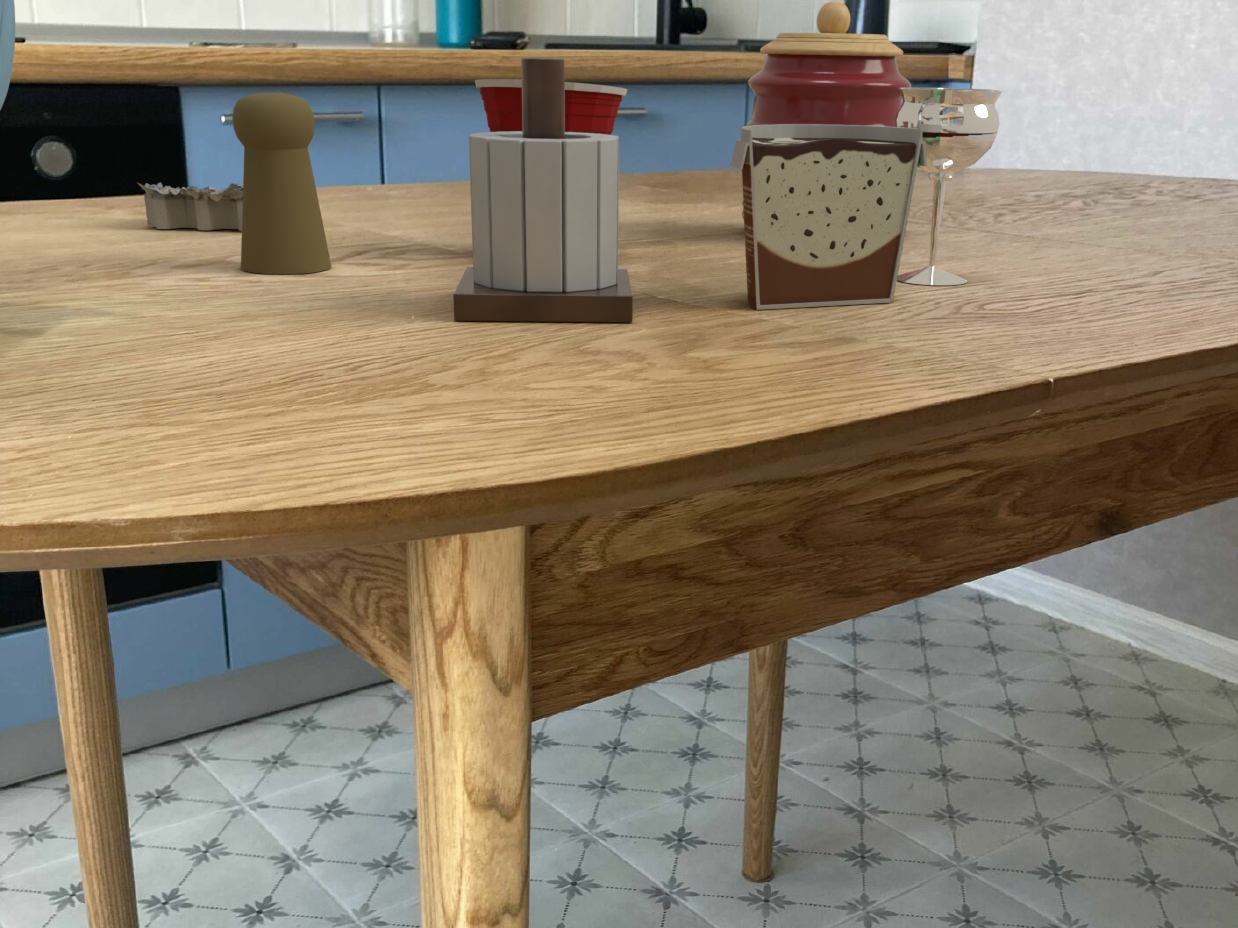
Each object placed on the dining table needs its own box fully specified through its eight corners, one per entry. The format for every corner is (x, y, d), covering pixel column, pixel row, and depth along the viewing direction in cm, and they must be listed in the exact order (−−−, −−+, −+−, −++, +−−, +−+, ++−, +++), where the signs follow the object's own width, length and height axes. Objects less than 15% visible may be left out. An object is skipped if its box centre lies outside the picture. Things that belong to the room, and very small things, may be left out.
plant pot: (469, 292, 76) (464, 139, 73) (479, 269, 83) (475, 130, 80) (619, 293, 76) (620, 142, 73) (615, 270, 84) (617, 132, 81)
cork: (301, 276, 89) (286, 95, 84) (222, 270, 91) (203, 93, 86) (348, 264, 94) (336, 93, 90) (272, 258, 96) (257, 90, 91)
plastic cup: (649, 251, 103) (652, 80, 98) (584, 269, 94) (585, 81, 89) (524, 241, 107) (521, 76, 102) (451, 257, 98) (444, 77, 93)
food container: (864, 285, 89) (877, 123, 85) (913, 301, 84) (930, 129, 80) (692, 294, 85) (698, 124, 81) (733, 311, 80) (742, 130, 76)
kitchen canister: (898, 248, 107) (921, 0, 99) (734, 242, 108) (745, -3, 101) (895, 229, 118) (916, 5, 111) (747, 223, 120) (758, 3, 113)
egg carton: (295, 223, 115) (291, 172, 113) (262, 234, 108) (258, 180, 107) (174, 219, 116) (169, 168, 114) (135, 229, 109) (128, 175, 108)
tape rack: (454, 321, 76) (443, 57, 70) (467, 291, 85) (459, 56, 79) (632, 323, 76) (636, 61, 71) (626, 293, 85) (630, 59, 80)
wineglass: (972, 290, 89) (995, 92, 84) (870, 282, 91) (887, 89, 86) (987, 276, 94) (1010, 90, 89) (891, 269, 97) (908, 87, 92)
